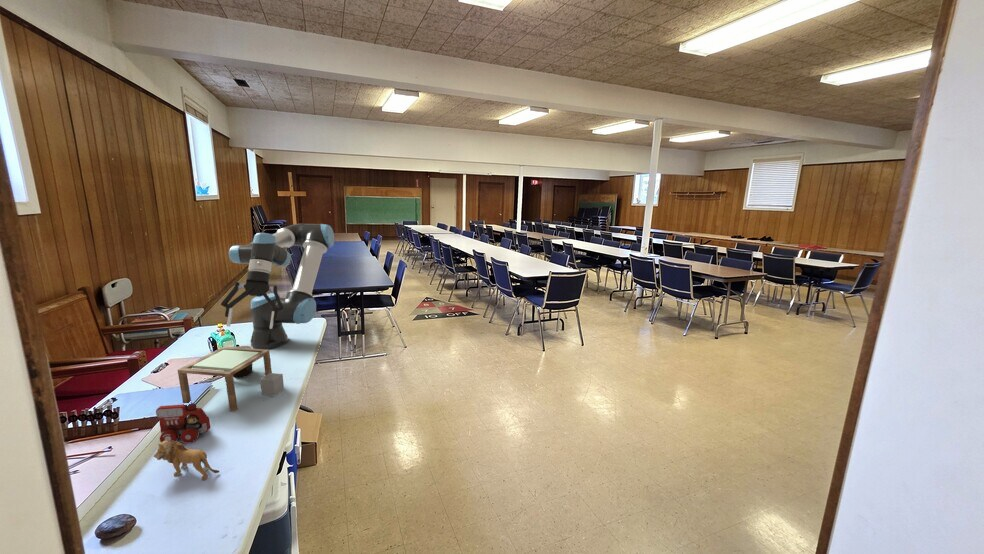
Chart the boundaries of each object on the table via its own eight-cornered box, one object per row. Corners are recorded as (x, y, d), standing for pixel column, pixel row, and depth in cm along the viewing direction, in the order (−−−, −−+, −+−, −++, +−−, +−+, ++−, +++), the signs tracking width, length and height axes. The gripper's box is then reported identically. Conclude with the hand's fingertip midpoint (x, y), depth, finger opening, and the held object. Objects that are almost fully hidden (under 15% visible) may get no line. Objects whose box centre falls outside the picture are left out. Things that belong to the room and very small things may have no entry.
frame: (228, 379, 144) (223, 346, 141) (272, 383, 142) (269, 349, 139) (183, 407, 125) (177, 369, 122) (234, 411, 123) (229, 374, 120)
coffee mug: (242, 380, 143) (239, 356, 141) (223, 377, 145) (220, 353, 143) (266, 366, 154) (264, 344, 152) (248, 364, 156) (245, 341, 154)
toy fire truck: (204, 442, 109) (198, 410, 106) (154, 446, 106) (147, 413, 104) (216, 427, 115) (211, 397, 113) (169, 431, 113) (163, 400, 110)
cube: (271, 387, 139) (269, 372, 137) (284, 388, 138) (282, 374, 137) (261, 394, 134) (260, 379, 133) (275, 396, 134) (273, 380, 132)
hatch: (224, 351, 139) (224, 349, 138) (260, 354, 137) (260, 351, 137) (193, 368, 126) (192, 365, 125) (232, 371, 124) (231, 368, 124)
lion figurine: (153, 479, 95) (147, 448, 93) (171, 464, 100) (166, 434, 98) (212, 481, 95) (207, 449, 93) (227, 466, 100) (222, 436, 98)
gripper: (218, 266, 137) (207, 324, 133) (295, 274, 148) (287, 328, 143) (222, 270, 144) (211, 326, 139) (295, 278, 154) (287, 330, 150)
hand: (249, 327), depth 141 cm, fingers open, 13 cm apart
